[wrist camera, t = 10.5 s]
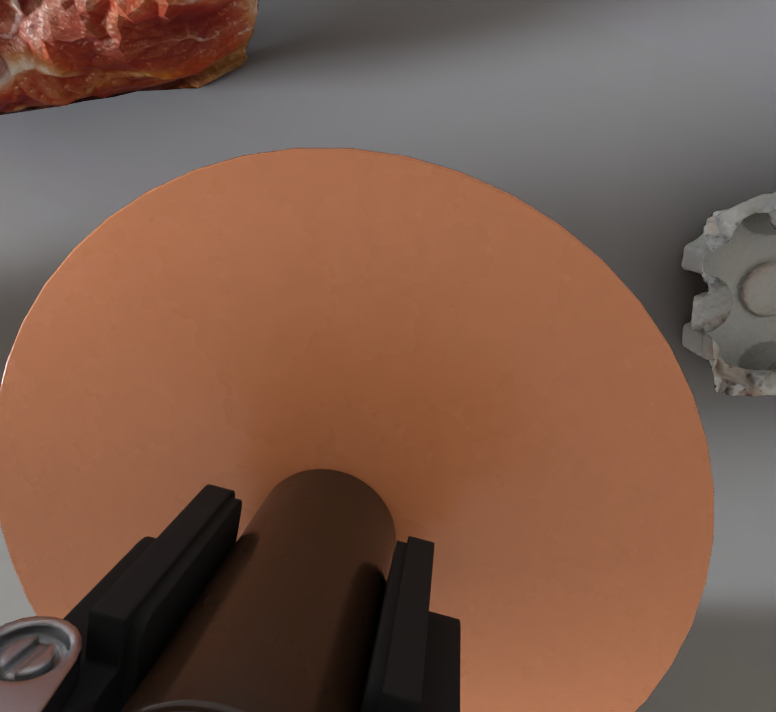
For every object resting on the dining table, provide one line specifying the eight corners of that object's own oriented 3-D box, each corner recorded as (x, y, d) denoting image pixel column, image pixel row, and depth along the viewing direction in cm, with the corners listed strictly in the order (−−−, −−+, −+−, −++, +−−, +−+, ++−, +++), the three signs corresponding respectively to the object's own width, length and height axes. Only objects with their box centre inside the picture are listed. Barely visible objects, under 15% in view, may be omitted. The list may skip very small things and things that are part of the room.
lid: (14, 682, 17) (-322, 1035, 10) (43, 81, 13) (-524, -93, 5) (572, 843, 16) (666, 1378, 9) (813, 246, 12) (1410, 308, 4)
